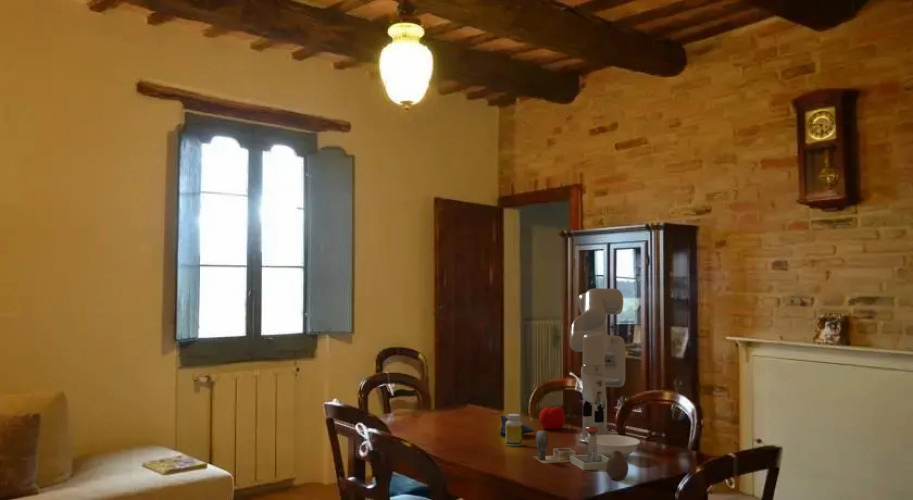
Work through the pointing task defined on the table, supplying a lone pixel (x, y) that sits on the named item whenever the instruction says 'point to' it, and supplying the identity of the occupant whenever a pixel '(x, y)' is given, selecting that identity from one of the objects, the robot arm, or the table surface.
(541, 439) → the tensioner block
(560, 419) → the tomato
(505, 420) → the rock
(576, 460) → the tray
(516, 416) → the pill bottle
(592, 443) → the lock pin
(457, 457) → the table surface
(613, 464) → the vase
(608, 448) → the bowl
